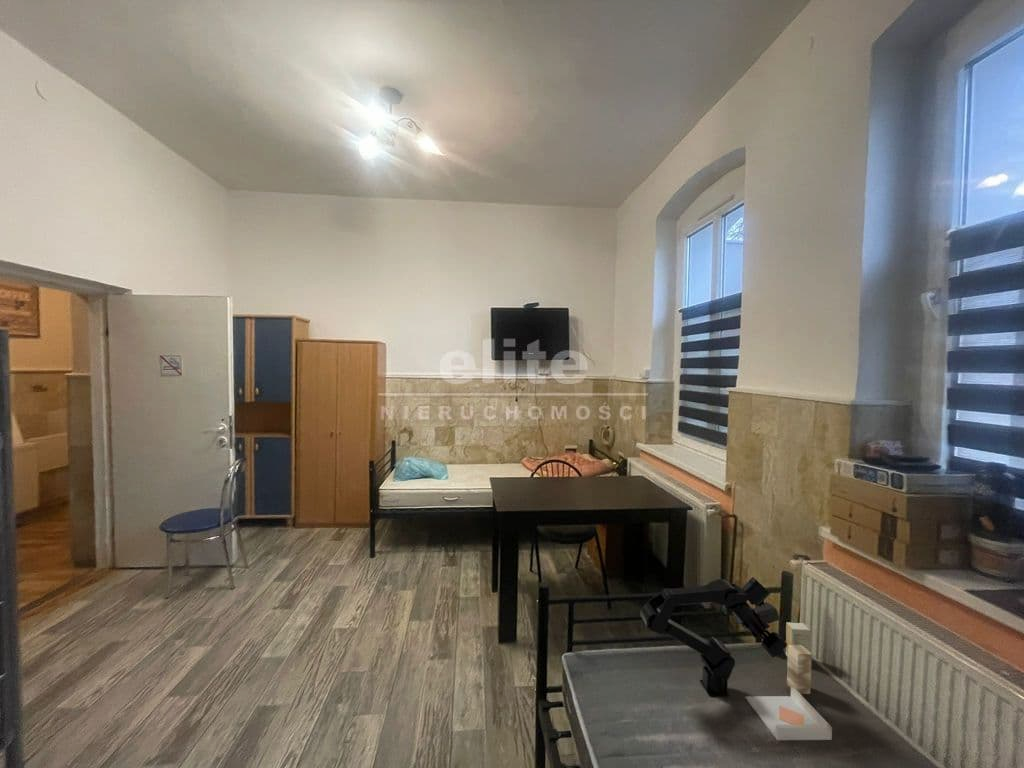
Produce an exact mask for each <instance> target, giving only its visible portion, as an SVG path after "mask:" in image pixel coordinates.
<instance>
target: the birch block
mask: <svg viewBox="0 0 1024 768" xmlns="http://www.w3.org/2000/svg"><path fill="white" fill-rule="evenodd" d="M812 654H813V653H811V651H810V652H809V651H808V650H807V649H806V648H804V647H803V646H802V645H788V657H787V666H786V667H787V668H786V670H787V671H786V684H787V685H788V687H789V688H791V687H794V688H795V689H796V690H797V691H798V692H799V693H800V694H801V695H810V694H811V683H812V657H813V656H812Z"/></svg>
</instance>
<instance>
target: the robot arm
mask: <svg viewBox="0 0 1024 768" xmlns="http://www.w3.org/2000/svg"><path fill="white" fill-rule="evenodd" d="M770 596H771V592H770V591H769V590H768V589H767V588H766V587H764V585H762V584H761V583H760V582H759V581H758V579H756V578H755V577H751V578H750V579H749V580H748V581H747V582H746V583H745V584H743V586H742V587H741V586H739V585H738V584H737V583H733V582H728V581H727V580H726V579H724V578H721V579H716V580H712V581H710V582H708V583H707V584H706V585H699V586H698V585H697V586H688V587H687V586H686V587H677V588H668V587H664V588H663V589H662V590H661V591H660V592H659V593H658V594H656V595H654V596H653V597H651V598H650V599H649V600H648V601H647V602H646V603H645V604H643V605H642V607H640V608H641V609H640V613H639V614H640V617H641V619H642V620H643V621H644V624H645V625H646V628H648V630H649V631H651V632H653V633H655V634H658V635H660V636H665V635H667V636H669V637H671V638H673V639H675V640H677V642H680V643H682V644H683V645H685V646H687V647H689V648H690V649H692V650H694V651H696V652H698V653H699V659H700V661H701V662H702V663H703V665H704V666H702V679H699V682H700V684H701V685H702V687H703V689H704V691H706V693H707V694H708V696H710V697H729V696H730V694H729V692H728V691H727V690H728V685H729V683H728V682H729V680H730V677H731V674H732V672H733V669H734V668H735V665H736V660H735V658H734V657H733V656H732V652H731V651H730V650H729V649H728V648H727V647H726V645H724V644H725V643H724V642H722V640H721V639H720V640H719V639H716V638H715V637H713V635H711V636H710V638H709V639H706V638H703V637H702V636H700V635H698V634H696V633H695V632H693V631H691V630H689V629H688V628H686V627H684V626H682V625H681V624H679V623H678V622H675V621H673V620H672V619H671V616H672V612H673V611H674V609H675V607H676V606H683V605H684V606H685V605H693V604H705V603H712V604H716V605H719V606H721V611H722V612H723V613H724V614H725V615H726V616H730V615H732V614H733V616H735V617H734V619H735V620H736V622H738V624H739V625H740V626H741V627H742V628H744V630H745V631H747V632H748V633H750V634H751V635H752V637H753V638H754V639H756V638H759V639H761V642H760V643H761V645H760V646H761V647H762V648H763V650H764V651H766V653H767V654H769V656H770V657H772V658H775V657H776V658H778V659H782V660H783V661H784V660H786V659H788V657H787V655H786V651H785V650H784V649H786V647H787V643H786V640H785V639H784V638H782V636H781V635H779V634H778V632H775V631H772V632H770V631H769V630H768V629H769V628H770V627H771V626H770V624H772V623H774V622H778V621H780V620H781V617H780V614H779V612H778V611H779V610H778V609H777V608H776V607H775V606H774V605H773V604H771V603H769V602H768V601H765V600H766V599H767V598H768V597H770ZM764 601H765V602H764ZM749 604H750V605H751V606H750V605H749ZM660 606H661V609H660V608H659V607H660ZM752 606H754V608H753V607H752Z"/></svg>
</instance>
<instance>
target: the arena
mask: <svg viewBox="0 0 1024 768" xmlns="http://www.w3.org/2000/svg"><path fill="white" fill-rule="evenodd" d="M745 700H746V701H747V702H748V704H749V705H750V706H751V707H752V709H753V710H754V711H755V713H756V714H757V715H758V717H759V719H761V721H763V723H764V725H765V726H766V727H767V729H768V730H769V731H770V732H771V734H772V735H773V736H774V738H775V739H776V740H777V741H827V740H828V741H832V738H833V727H832V726H831V724H830V723H829V722H827V721H826V719H825V718H824V717H823V716H822V715H821V714H820V713H819V712H818V711H817V710H816V709H815V708H814V706H812V705H811V704H810V703H809V702H808V701H807V699H806V698H805V697H804V696H803V694H800V693H799V692H798V691H797V690H796V689H795V688H794V687H790V695H789V696H786V695H785V696H784V695H782V696H777V695H776V696H775V695H773V696H770V695H769V696H768V695H767V696H766V695H764V696H759V695H758V696H757V695H755V696H745Z"/></svg>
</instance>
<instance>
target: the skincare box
mask: <svg viewBox="0 0 1024 768" xmlns="http://www.w3.org/2000/svg"><path fill="white" fill-rule="evenodd" d="M785 624H786V625H785V642H786V643H787V647H785V654H786V657H787V658H788V645H802V646H803V647H804V648H806V649H807V650H808V651H809V652H810V653H811V629H810V628H809V627H808V625H806V624H805V623H804V622H789V621H788V622H787V621H786V623H785Z"/></svg>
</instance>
